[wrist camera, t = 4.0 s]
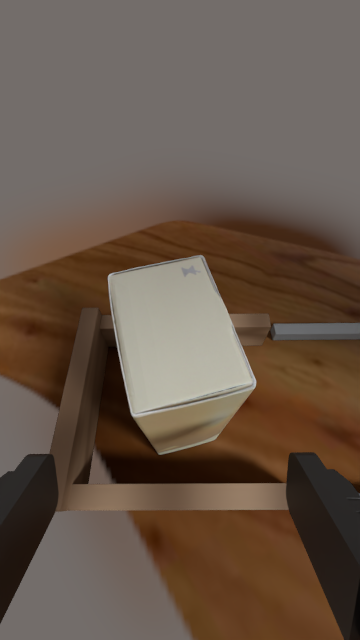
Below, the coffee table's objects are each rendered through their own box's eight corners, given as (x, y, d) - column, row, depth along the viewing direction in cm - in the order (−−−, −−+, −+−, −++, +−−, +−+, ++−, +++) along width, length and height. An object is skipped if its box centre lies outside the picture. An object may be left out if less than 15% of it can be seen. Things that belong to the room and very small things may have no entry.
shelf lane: (259, 332, 24) (271, 306, 20) (290, 507, 17) (317, 510, 14) (96, 334, 24) (82, 307, 20) (65, 508, 17) (36, 511, 14)
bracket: (386, 328, 24) (394, 322, 23) (472, 512, 17) (488, 513, 16) (270, 329, 24) (273, 323, 23) (308, 513, 17) (314, 514, 16)
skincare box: (141, 374, 22) (102, 266, 12) (193, 361, 22) (202, 246, 12) (158, 462, 19) (126, 421, 8) (219, 444, 19) (262, 384, 9)
